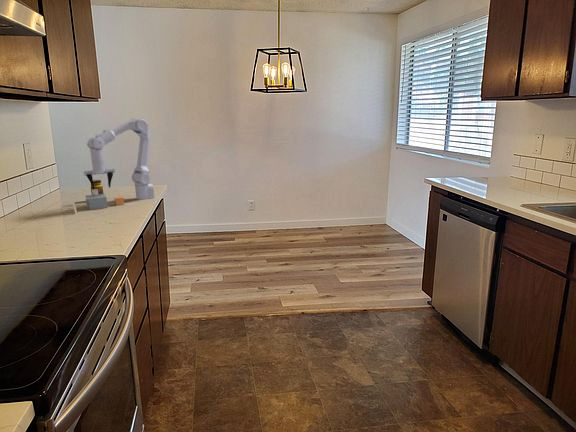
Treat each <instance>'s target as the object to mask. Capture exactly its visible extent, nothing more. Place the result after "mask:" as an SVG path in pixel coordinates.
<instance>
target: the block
mask: <svg viewBox="0 0 576 432" xmlns="http://www.w3.org/2000/svg"><path fill="white" fill-rule="evenodd" d="M114 204H115V206H125V198H124V196H123V195H122V196H114Z"/></svg>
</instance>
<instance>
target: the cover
mask: <svg viewBox="0 0 576 432" xmlns="http://www.w3.org/2000/svg"><path fill="white" fill-rule="evenodd" d="M85 202H86V203H85V204H86V208H87V210H89V211H91V210H92V211H93V210H99V209H106V208H107V209H108V207H109V205H108V199H107V196H106V193H104V194H98V189H92V193H91V194H87V195H85Z"/></svg>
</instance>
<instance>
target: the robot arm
mask: <svg viewBox="0 0 576 432" xmlns="http://www.w3.org/2000/svg"><path fill="white" fill-rule="evenodd" d="M149 125H150V124H149V123H148V122H147V121H146V120H145V119H144V118H131V119H129V120H127V121H125V122H123V123H122V124H120V125H118V126H117V127H115V128H113V129H112V130H109V129H104V130H103V131H102V132H101V133H100V134H96V135H95V137H90V138H89V139H88V140H87V143H86V146H87V147H88V149H89V151H90V152H89V153H90V159H91V165H92V170H86V171H84V170H83V175H84V177H87V179H88V181H89V182H90V186H91V185H92V188H93V189H94V184H93V180H94V179H93V178H94V177H93V175H105V174H106V176H107V183H108V188H111V185H112V179H113V176H114V174H115V173H116V171H115V168H106V166H105V159H104V152H103V148H104V146H106V145H108V144H109V143H111V142H113V141H114V140H115V139H116V137H117V136H119V135H121V134H123V133H125V132H127V131H133V132H134V134H135V133H136V135H138V137H139V144H138V151H137V152H138V153H137V163H136V167H135V168H134V170H133V173H132V175H131V179H132V182H134V189H135V190H134V191H135V198H136V199H135V200H139V201H142V200H144V201H145V200H150V199H155V190H154V185H153V183H150V182H151V175H150V170H149V168H148V166H149V165H148V164H149V163H148V162H149V155H150V149H151V148H150V146H151V138H152V137H151V135H152V134H151V131H150V129H149V127H150V126H149Z"/></svg>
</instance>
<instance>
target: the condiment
mask: <svg viewBox="0 0 576 432" xmlns="http://www.w3.org/2000/svg"><path fill="white" fill-rule="evenodd" d="M93 184H94V189H98V194H105V193H104V189H103V187H104V186H103V185H102V180H100V179H93ZM92 189H93V188H92V185H91V184H90V192H91V193H90V194H92Z"/></svg>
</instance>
